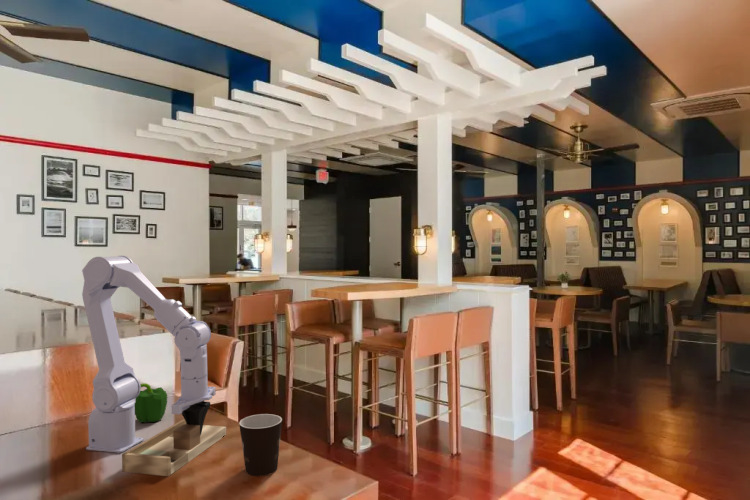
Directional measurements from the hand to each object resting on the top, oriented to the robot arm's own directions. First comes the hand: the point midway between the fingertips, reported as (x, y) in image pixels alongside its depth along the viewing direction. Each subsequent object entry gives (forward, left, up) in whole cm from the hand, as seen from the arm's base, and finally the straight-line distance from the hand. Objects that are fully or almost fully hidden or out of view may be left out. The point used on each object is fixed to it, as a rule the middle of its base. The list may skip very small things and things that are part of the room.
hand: (195, 435), depth 118 cm
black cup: (+19, -5, -3) cm, 20 cm away
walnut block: (0, -3, -1) cm, 4 cm away
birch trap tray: (-3, -2, -3) cm, 4 cm away
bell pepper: (-23, +15, -3) cm, 28 cm away
